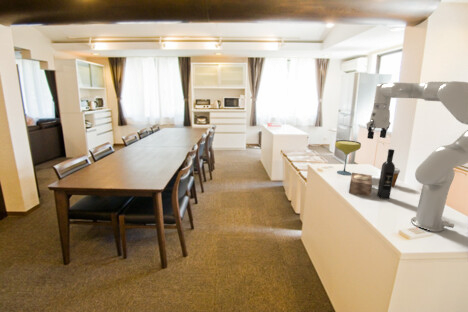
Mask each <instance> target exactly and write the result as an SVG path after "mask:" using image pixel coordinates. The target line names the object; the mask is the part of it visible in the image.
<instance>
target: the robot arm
mask: <svg viewBox="0 0 468 312" xmlns="http://www.w3.org/2000/svg"><path fill="white" fill-rule="evenodd" d="M392 98H393V99H420V100H424V101H426V102H427V101H428V102H441V103H442V105H443V106H444V107H445V109H446V110H447V111H448V112H449V113H450V114H451V115H452V116H453V118H455V119H456V120H457V121H458V122H459V123H461V124H463V125H468V82H466V81H428V82H424V83H423V82H419V83H417V82H391V83H387V82H386V83H383V82H382V83H378V84H377V85H376V88H375V93H374V101H373V107H372V111H371V115H370V119H369V121H368V122H367V123H365V125H366V129H367V139H371V140H373V139H374V134H375V129H380V133H379V138H383V139H386V137H387V132H388V129H389V128H390V125H391V122H390V118H391V112H390V110H391V109H390V105H391V99H392ZM467 163H468V129H467V130H465V131H464V132H463V133H462V134H461V135H460V136H459V137H458V138H457V139H456V140H455V141H454V142H453V143H451V144H447V145H442V146H439V147H438V148H436V149H435V150H433V151H432V152H430V154H429V155H428V156H427V157H426V158H425V159H424V161H422V162H421V163H420V164H419V166H418V167H417V168H416V170H415V174H414V175H415V179H416V181H417V182H418V183H419V184H421V185H422V188H421V192H420V196H419V200H418V204H417V210H416V212H415V213H416V214H415V216H414V217H411V219H410V223H411V224H413V225H414V226H415V227H417V228H419V227H421V228H425V229H429V230H431V231H430V232H435V233H440V232H443V231H444V228H445V227H446V228H447V227H448V228H450V229H451V228H452V229H454V227H455V224H454V223H452V222H451V223H450V222H449V221H448V220H443V214H444V210H445V206H446V202H447V198H448V194H449V191H450V188H451V186H452V184H453V181H454V178H455V169H454V168H458V167H461V166H464V165H466V164H467ZM421 228H420V229H421Z"/></svg>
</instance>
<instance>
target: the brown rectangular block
mask: <svg viewBox="0 0 468 312" xmlns="http://www.w3.org/2000/svg"><path fill="white" fill-rule="evenodd" d="M350 176H351V177H350V182H349V189H348V194H350V195H351V194H353V195H356V196H363V197H369V198H371V192H372V189H373V181H372V180H373V177H372V176H373V175H371V174H365V173H359V172H358V173H356V172H351V175H350Z"/></svg>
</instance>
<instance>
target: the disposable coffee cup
mask: <svg viewBox="0 0 468 312" xmlns="http://www.w3.org/2000/svg"><path fill="white" fill-rule="evenodd" d="M400 173H401V170H400V168H397V167H395V171H394V177H393V182H392V187H391V188H393V187H395V185H396V182H397V179H398V177H399V174H400Z"/></svg>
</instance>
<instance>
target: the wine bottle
mask: <svg viewBox="0 0 468 312" xmlns="http://www.w3.org/2000/svg"><path fill="white" fill-rule="evenodd" d="M394 154H395V149H393V148H389V149H388V151H387V158H386V161H384V162H383V163H382V165H381V168H380V176H379V181H378V187H377V193H376V196H377V198H378V199H380V200H381V199H382V200H390V198H391V192H392V188H393V187H392V182H393V177H394V171H395V168H396V166H395V163H394V162H393V160H394V159H393V158H394Z"/></svg>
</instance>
